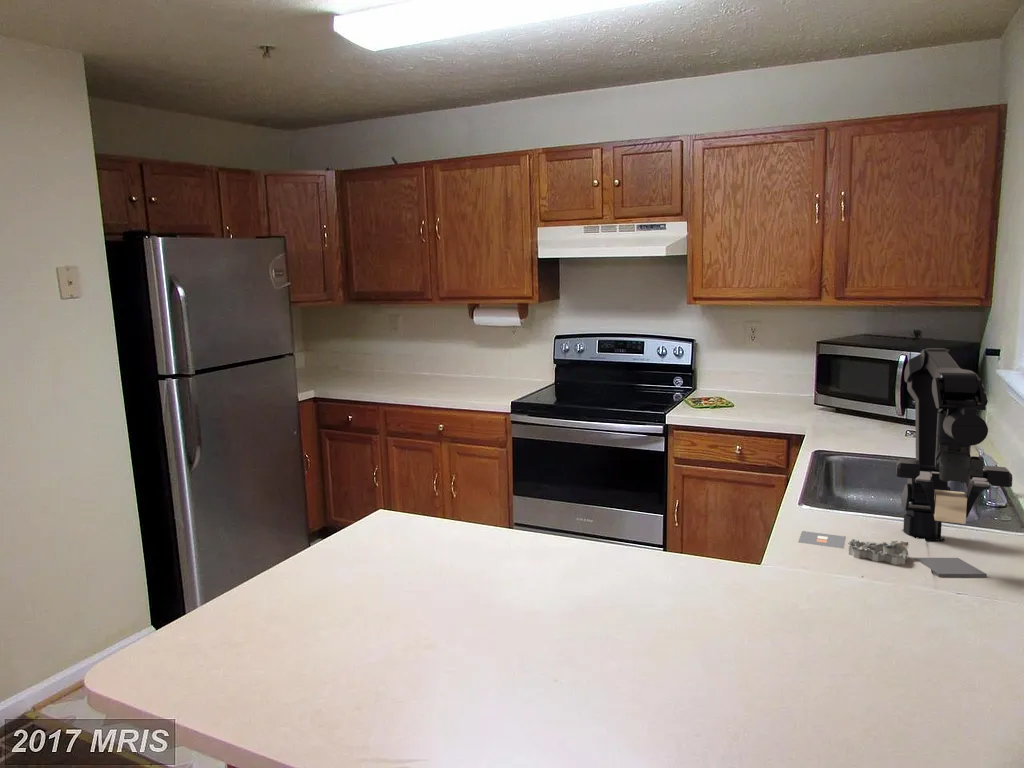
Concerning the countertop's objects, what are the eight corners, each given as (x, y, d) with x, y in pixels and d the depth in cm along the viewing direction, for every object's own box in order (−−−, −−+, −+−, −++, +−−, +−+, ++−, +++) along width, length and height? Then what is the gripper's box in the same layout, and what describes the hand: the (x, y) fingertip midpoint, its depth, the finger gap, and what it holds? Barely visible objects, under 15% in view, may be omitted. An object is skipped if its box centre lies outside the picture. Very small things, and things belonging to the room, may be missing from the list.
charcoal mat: (957, 560, 141) (958, 557, 141) (986, 577, 132) (986, 574, 132) (912, 560, 142) (912, 557, 141) (938, 576, 133) (938, 573, 133)
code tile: (802, 533, 159) (802, 530, 159) (845, 539, 155) (845, 536, 155) (797, 544, 152) (798, 542, 151) (843, 551, 147) (843, 548, 147)
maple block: (933, 514, 139) (934, 489, 139) (963, 517, 137) (964, 492, 137) (934, 520, 135) (936, 495, 135) (965, 523, 133) (967, 498, 132)
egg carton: (910, 561, 142) (911, 542, 141) (903, 572, 136) (904, 551, 136) (853, 550, 149) (854, 531, 148) (844, 559, 143) (845, 540, 142)
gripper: (899, 439, 132) (895, 520, 133) (1019, 447, 123) (1014, 533, 125) (898, 431, 142) (894, 506, 143) (1010, 438, 133) (1005, 518, 134)
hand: (949, 515), depth 136 cm, fingers closed on maple block, 5 cm apart
